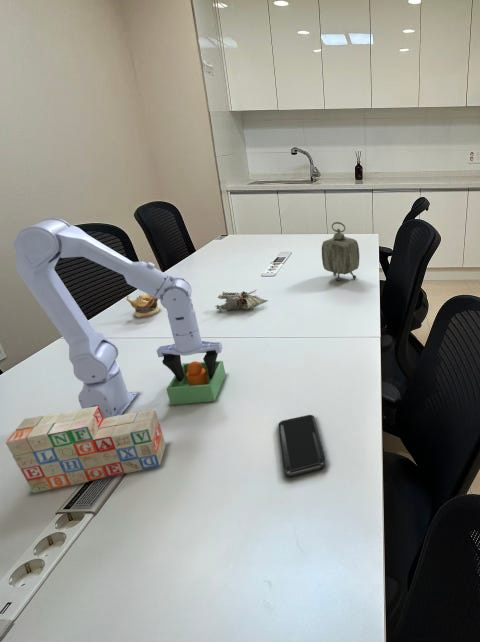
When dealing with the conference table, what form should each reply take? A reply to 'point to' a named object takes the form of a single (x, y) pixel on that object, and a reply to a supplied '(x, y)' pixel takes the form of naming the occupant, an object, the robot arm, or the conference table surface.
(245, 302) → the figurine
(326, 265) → the tabletop clock
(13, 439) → the stack of blocks
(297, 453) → the phone
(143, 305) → the yellow brown ornament
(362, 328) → the conference table surface
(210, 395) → the green bin
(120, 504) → the conference table surface
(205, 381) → the cylinder
